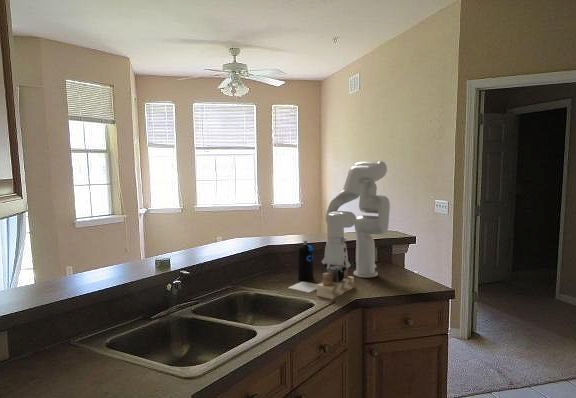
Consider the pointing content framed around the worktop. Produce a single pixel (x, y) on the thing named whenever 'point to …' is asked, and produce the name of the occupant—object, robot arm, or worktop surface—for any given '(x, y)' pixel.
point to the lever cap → (334, 272)
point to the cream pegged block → (334, 285)
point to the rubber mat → (304, 287)
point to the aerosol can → (305, 262)
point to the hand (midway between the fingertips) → (335, 278)
